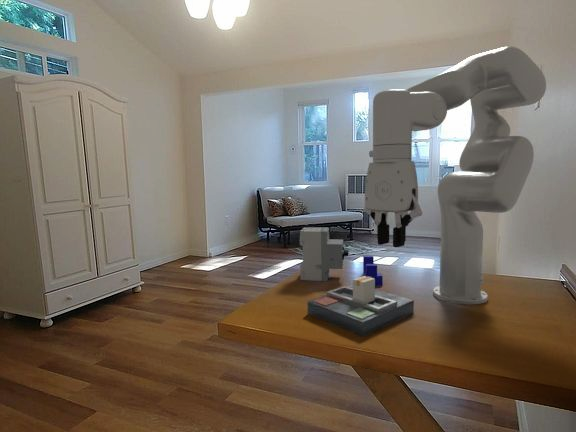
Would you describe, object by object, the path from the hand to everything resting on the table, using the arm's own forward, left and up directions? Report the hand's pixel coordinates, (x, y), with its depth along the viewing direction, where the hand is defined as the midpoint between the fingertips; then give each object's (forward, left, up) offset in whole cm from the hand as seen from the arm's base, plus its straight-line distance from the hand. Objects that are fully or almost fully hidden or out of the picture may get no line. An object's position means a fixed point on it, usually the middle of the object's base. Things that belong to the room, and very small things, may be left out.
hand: (391, 244), depth 75 cm
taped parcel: (0, -7, -14) cm, 16 cm away
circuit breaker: (-15, -34, -17) cm, 41 cm away
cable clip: (-24, -23, -18) cm, 37 cm away
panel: (0, -8, -17) cm, 19 cm away
